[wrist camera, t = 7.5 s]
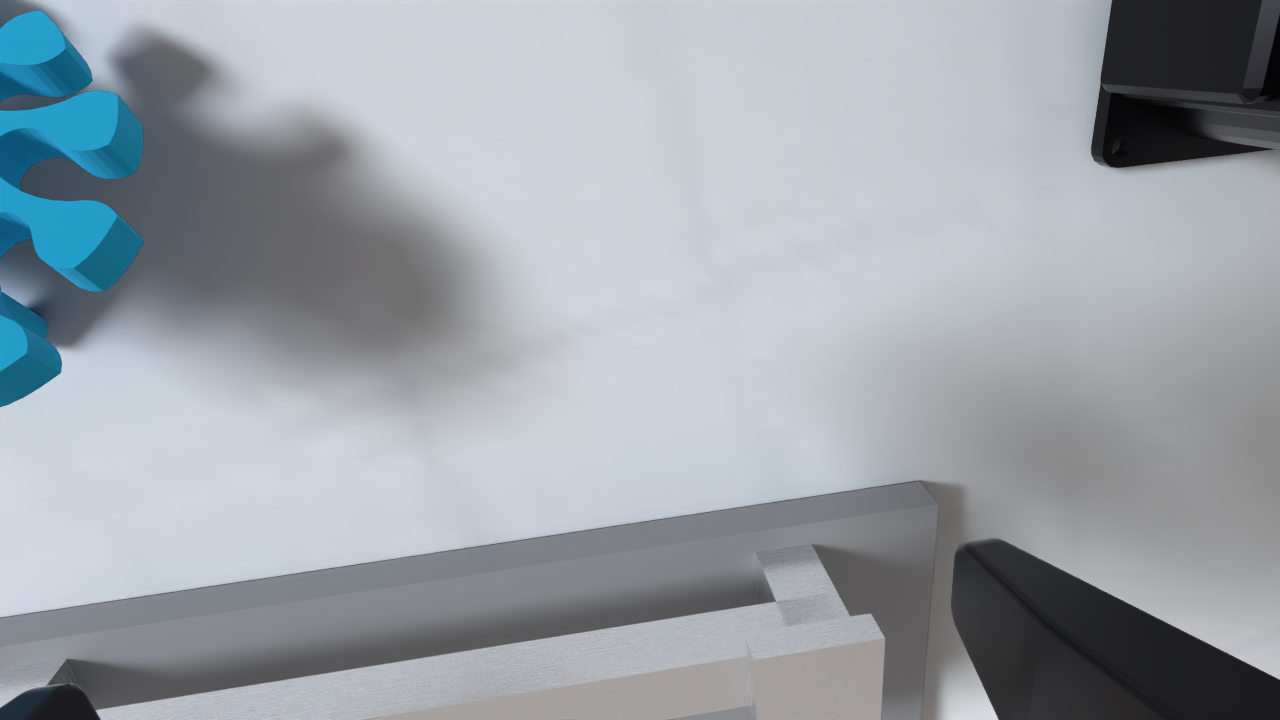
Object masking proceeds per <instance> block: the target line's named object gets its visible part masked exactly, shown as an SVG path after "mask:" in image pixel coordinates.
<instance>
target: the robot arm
mask: <svg viewBox="0 0 1280 720" xmlns="http://www.w3.org/2000/svg"><path fill="white" fill-rule="evenodd" d="M1100 80H1101V85H1100V92H1099V99H1098V105H1097V112H1096V119H1095V125H1094V132H1093V139H1092V146H1091V153H1092V157H1093V159H1094V161H1095V162H1097V163H1098V164H1100V165H1104V166H1109V167H1115V168H1121V167H1129V166H1138V165H1146V164H1154V163H1163V162H1171V161H1180V160H1188V159H1196V158H1205V157H1213V156H1222V155H1230V154H1239V153H1247V152H1255V151H1264V150H1272V149H1278V150H1280V0H1112V5H1111V12H1110V19H1109V25H1108V32H1107V39H1106V45H1105V52H1104V59H1103V66H1102V72H1101V79H1100ZM1118 138H1120V145H1119V148H1118V150H1117V151H1116V152H1115V153H1114V154H1112V146H1113V144H1114V142H1115V141H1116V140H1117V139H1118ZM951 609H952V615H953V619H954V623H955V626H956V628H957V630H958V633H959V635H960V637H961V639H962V641H963V643H964V646H965V648H966V650H967V652H968V654H969V656H970V659H971V661H972V663H973V665H974V667H975V669H976V672H977V674H978V676H979V678H980V680H981V682H982V685H983V687H984V689H985V691H986V693H987V695H988V698H989V700H990V702H991V704H992V706H993V708H994V711H995V713H996V715H997V717H998V719H999V720H1280V680H1279V679H1277V678H1275V677H1273V676H1271V675H1269V674H1267V673H1265V672H1263V671H1261V670H1259V669H1257V668H1255V667H1253V666H1251V665H1249V664H1247V663H1245V662H1243V661H1241V660H1239V659H1238V658H1236V657H1234V656H1232V655H1230V654H1228V653H1226V652H1224V651H1222V650H1220V649H1218V648H1216V647H1214V646H1212V645H1210V644H1208V643H1206V642H1204V641H1202V640H1200V639H1198V638H1196V637H1194V636H1192V635H1190V634H1188V633H1186V632H1184V631H1182V630H1180V629H1178V628H1176V627H1174V626H1172V625H1170V624H1168V623H1166V622H1164V621H1162V620H1160V619H1158V618H1156V617H1154V616H1152V615H1150V614H1148V613H1146V612H1144V611H1142V610H1140V609H1138V608H1136V607H1134V606H1132V605H1130V604H1128V603H1126V602H1124V601H1122V600H1120V599H1118V598H1116V597H1114V596H1112V595H1110V594H1108V593H1106V592H1104V591H1102V590H1101V589H1099V588H1097V587H1095V586H1093V585H1091V584H1089V583H1087V582H1085V581H1083V580H1081V579H1079V578H1077V577H1075V576H1073V575H1071V574H1069V573H1067V572H1065V571H1063V570H1061V569H1059V568H1057V567H1055V566H1053V565H1051V564H1049V563H1047V562H1045V561H1043V560H1041V559H1039V558H1037V557H1035V556H1033V555H1031V554H1029V553H1027V552H1025V551H1023V550H1021V549H1019V548H1017V547H1015V546H1013V545H1011V544H1009V543H1007V542H1005V541H1003V540H1000V539H985V540H978V541H972V542H966V543H963V544H961V545H959V547H958V548H957V550H956V553H955V558H954V571H953V584H952V597H951ZM0 720H101V719H100V717H99V715H98V714H97V712H96V710H95V708H94V707H93V705H92V703H91V701H90V700H89V698H88V696H87V694H86V693H85V691H84V690H83V689H82V688H81V687H79V686H78V685H76V684H72V683H63V684H56V685H50V686H44V687H37V688H33V689H30V690H27V691H25V692H23V693H21V694H20V695H18V696H17V697H15V698H14V699H12V700H11V701H9V702H8V703H6V704H5V705H4V706H2V707H1V708H0Z"/></svg>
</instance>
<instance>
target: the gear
mask: <svg viewBox="0 0 1280 720" xmlns="http://www.w3.org/2000/svg"><path fill="white" fill-rule="evenodd" d="M92 81H93V79H92V74H91V70H90V68H89V66H88V64H87V63H86V61H85V60H84V59H83V57H82V56H81V55H80V53H79V52H78V51H77V50H76V49H75V47H74V46H73V45H72V44H71V43H70V41H69V40H68V39H67V38H66V37H65V35H64V34H63V33H62V32H61V31H60V29H59V28H58V27H57V26H56V24H55V23H54V22H53V21H52V20H51V19H50V18H49V17H48V16H47V15H46V14H45V13H44V12H43V11H33V12H29V13H25V14H22V15H19V16H17V17H15V18H13V19H11V20H10V21H8V22H7V23H6V24H5V25H4V26H3V27H2V28H0V102H1V101H3V100H5V99H7V98H8V97H12V96H15V95H21V94H30V95H39V96H47V97H62V96H67V95H71V94H74V93H76V92H78V91H80V90H82V89H84V88H85V87H87V86H88V85H89V84H90V83H91V82H92ZM142 153H143V127H142V124H141V123H140V122H139V120H138V119H137V118H136V117H135V115H134V114H133V113H132V112H131V111H130V109H129V108H128V107H127V106H126V104H125V103H124V102H123V101H122V100H121V98H120V97H119V96H118V95H117V94H114V93H111V92H107V91H89V92H86V93H82V94H79V95H76V96H74V97H72V98H70V99H67V100H65V101H63V102H59V103H56V104H53V105H50V106H47V107H41V108H36V109H31V110H19V111H2V110H0V260H1V259H2V257H3V255H4V254H5V253H6V252H7V251H8V250H9V249H10V248H11V247H13V246H14V245H16V244H18V243H20V242H22V241H24V240H28V239H33V244H34V248H35V251H36V253H37V255H38V256H39V257H40V259H41V260H43V261H44V262H45V263H47V264H48V265H49V266H51V267H52V268H53V269H55V270H56V271H57V272H59V273H60V274H61V275H63V276H64V277H65V278H67V279H68V280H69V281H71V282H72V283H74V284H75V285H76V286H78V287H79V288H81V289H84V290H87V291H93V292H104V291H105V290H106V289H107V288H109V287H110V286H111V285H113V284H114V283H115V282H116V281H117V280H118V279H119V278H120V277H121V276H122V275H123V273H124V272H125V271H126V270H127V268H128V267H129V266H130V264H131V263H132V261H133V260H134V258H135V257H136V255H137V253H138V252H139V250H140V248H141V247H142V245H143V243H144V241H143V239H142V238H141V237H140V235H139V234H138V233H137V232H136V231H134V230H133V229H132V228H131V227H130V226H129V225H128V224H127V223H126V222H125V221H124V220H123V219H122V218H121V217H120V216H119V215H118V214H117V213H116V212H115V211H114V210H113V209H111V208H110V207H109V206H107V205H106V204H103V203H101V202H98V201H91V200H79V201H58V200H49V199H44V198H39V197H35V196H32V195H30V194H27V193H25V192H22V191H21V190H20V183H21V179H22V177H23V175H24V174H25V172H26V171H27V170H28V169H29V168H30V167H32V166H33V165H34V164H36V163H38V162H40V161H42V160H45V159H48V158H55V157H59V158H66V159H70V160H72V161H73V162H75V163H76V164H78V165H79V166H80V167H82V168H83V169H84V170H86V171H87V172H88V173H90V174H92V175H94V176H96V177H99V178H104V179H118V178H123V177H127V176H129V175H131V174H134V173H135V172H136V170H137V168H138V166H139V164H140V161H141V157H142ZM47 332H48V326H47V323H46V321H45V320H44V319H43V318H42V317H41V316H39V315H37V314H36V313H34V312H33V311H31V310H30V309H28V308H26V307H25V306H23V305H22V304H20V303H19V302H17V301H16V300H14V299H12V298H11V297H9V296H8V295H6V294H5V293H3V292H1V287H0V407H2V406H5V405H8V404H11V403H13V402H15V401H17V400H19V399H21V398H23V397H25V396H27V395H28V394H30V393H32V392H33V391H35V390H37V389H38V388H40V387H42V386H43V385H44V384H46V383H47V382H49V381H50V380H51V379H53V378H54V377H56V376H57V375H59V374H60V373H61V368H62V361H61V357H60V354H59V352H58V351H57V349H56V347H54V346H53V345H52V344H51V343H49V342H48V341H46V340H45V338H46V335H47Z"/></svg>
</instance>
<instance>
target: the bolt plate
mask: <svg viewBox="0 0 1280 720" xmlns="http://www.w3.org/2000/svg"><path fill="white" fill-rule="evenodd" d="M938 512H939V503H938V502H937V501H936V500H935V499H934V497H933V496H932V495H931V494H930V493H929V492H928V490H927V489H926V488H925V487H924V486H923V485H922V483H921V482H920V481H916V482H909V483H902V484H896V485H889V486H882V487H876V488H869V489H862V490H856V491H849V492H842V493H835V494H829V495H822V496H815V497H809V498H802V499H795V500H789V501H782V502H775V503H768V504H762V505H755V506H748V507H742V508H735V509H728V510H722V511H715V512H708V513H701V514H695V515H688V516H681V517H675V518H668V519H661V520H655V521H648V522H641V523H634V524H628V525H621V526H614V527H608V528H601V529H594V530H588V531H581V532H574V533H567V534H561V535H554V536H547V537H541V538H534V539H527V540H521V541H514V542H507V543H501V544H494V545H487V546H480V547H474V548H467V549H460V550H454V551H447V552H440V553H434V554H427V555H420V556H413V557H407V558H400V559H393V560H387V561H380V562H373V563H367V564H360V565H353V566H346V567H340V568H333V569H326V570H320V571H313V572H306V573H300V574H293V575H286V576H279V577H273V578H266V579H259V580H253V581H246V582H239V583H233V584H226V585H219V586H212V587H206V588H199V589H192V590H186V591H179V592H172V593H166V594H159V595H152V596H145V597H139V598H132V599H125V600H119V601H112V602H105V603H99V604H92V605H85V606H78V607H72V608H65V609H58V610H52V611H45V612H38V613H32V614H25V615H18V616H11V617H5V618H0V671H1V670H2V669H3V668H9V667H16V666H22V665H29V664H35V663H42V662H48V661H55V660H61V659H67V660H68V662H69V663H70V665H71V667H72V669H73V671H74V673H75V675H76V677H77V678H78V680H79V682H80V684H81V686H82V688H83V690H84V691H85V693H86V694H87V696H88V698H89V700H90V701H91V703H92V705H93V707H94V708H95V710H100V709H106V708H112V707H119V706H125V705H131V704H137V703H144V702H150V701H156V700H162V699H169V698H175V697H181V696H187V695H194V694H200V693H206V692H213V691H219V690H225V689H231V688H238V687H244V686H250V685H256V684H263V683H269V682H275V681H282V680H288V679H294V678H300V677H307V676H313V675H319V674H325V673H332V672H338V671H344V670H350V669H357V668H363V667H369V666H376V665H382V664H388V663H394V662H401V661H407V660H413V659H419V658H426V657H432V656H438V655H444V654H451V653H457V652H463V651H470V650H476V649H482V648H488V647H495V646H501V645H507V644H513V643H520V642H526V641H532V640H538V639H545V638H551V637H557V636H564V635H570V634H576V633H582V632H589V631H595V630H601V629H607V628H614V627H620V626H626V625H632V624H639V623H645V622H651V621H658V620H664V619H670V618H676V617H683V616H689V615H695V614H701V613H708V612H714V611H720V610H727V609H733V608H739V607H745V606H752V605H758V604H760V603H759V601H758V598H757V576H756V552H762V551H768V550H775V549H781V548H788V547H794V546H801V545H807V544H812V546H813V548H814V550H815V552H816V554H817V555H818V557H819V559H820V561H821V563H822V565H823V567H824V568H825V570H826V572H827V574H828V576H829V578H830V580H831V581H832V583H833V585H834V587H835V589H836V591H837V593H838V594H839V596H840V598H841V600H842V602H843V604H844V606H845V608H846V609H847V611H848V613H849V615H850V616H856V615H863V614H869V613H871V615H872V616H873V618H874V620H875V621H876V623H877V625H878V627H879V628H880V630H881V632H882V634H883V635H884V637H885V651H884V669H883V687H882V705H881V720H921V712H922V700H923V688H924V676H925V665H926V653H927V641H928V629H929V618H930V606H931V594H932V582H933V571H934V559H935V547H936V535H937V523H938ZM668 720H749V712H748V706H745V707H739V708H733V709H727V710H721V711H716V712H710V713H704V714H698V715H692V716H686V717H680V718H674V719H668Z"/></svg>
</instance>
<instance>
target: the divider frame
mask: <svg viewBox="0 0 1280 720" xmlns="http://www.w3.org/2000/svg"><path fill="white" fill-rule="evenodd" d="M756 576H757V598H758V601H759V603H760V604H758V605H752V606H745V607H739V608H733V609H727V610H720V611H714V612H708V613H701V614H695V615H689V616H683V617H676V618H670V619H664V620H658V621H651V622H645V623H639V624H632V625H626V626H620V627H614V628H607V629H601V630H595V631H589V632H582V633H576V634H570V635H564V636H557V637H551V638H545V639H538V640H532V641H526V642H520V643H513V644H507V645H501V646H495V647H488V648H482V649H476V650H470V651H463V652H457V653H451V654H444V655H438V656H432V657H426V658H419V659H413V660H407V661H401V662H394V663H388V664H382V665H376V666H369V667H363V668H357V669H350V670H344V671H338V672H332V673H325V674H319V675H313V676H307V677H300V678H294V679H288V680H282V681H275V682H269V683H263V684H256V685H250V686H244V687H238V688H231V689H225V690H219V691H213V692H206V693H200V694H194V695H187V696H181V697H175V698H169V699H162V700H156V701H150V702H144V703H137V704H131V705H125V706H119V707H112V708H106V709H100V710H96V712H97V714H98V715H99V717H100V719H101V720H668V719H674V718H680V717H686V716H692V715H698V714H704V713H710V712H716V711H721V710H727V709H733V708H739V707H745V706H748V712H749V720H881V705H882V687H883V669H884V651H885V637H884V635H883V634H882V632H881V630H880V628H879V627H878V625H877V623H876V621H875V620H874V618H873V616H872V615H871V613H869V614H863V615H856V616H850V615H849V613H848V611H847V609H846V608H845V606H844V604H843V602H842V600H841V598H840V596H839V594H838V593H837V591H836V589H835V587H834V585H833V583H832V581H831V580H830V578H829V576H828V574H827V572H826V570H825V568H824V567H823V565H822V563H821V561H820V559H819V557H818V555H817V554H816V552H815V550H814V548H813V546H812V544H807V545H801V546H794V547H788V548H781V549H775V550H768V551H762V552H756ZM63 683H72V684H76V685H78V686H79V687H81V688H82V686H81V684H80V682H79V680H78V678H77V677H76V675H75V673H74V671H73V669H72V667H71V665H70V663H69V662H68V660H67V659H61V660H55V661H48V662H42V663H35V664H29V665H22V666H16V667H9V668H3V669H2V670H1V671H0V708H1V707H2V706H4V705H5V704H6V703H8V702H9V701H11V700H12V699H14V698H15V697H17V696H18V695H20V694H21V693H23V692H25V691H27V690H30V689H33V688H37V687H44V686H50V685H56V684H63ZM82 689H83V688H82Z"/></svg>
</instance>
